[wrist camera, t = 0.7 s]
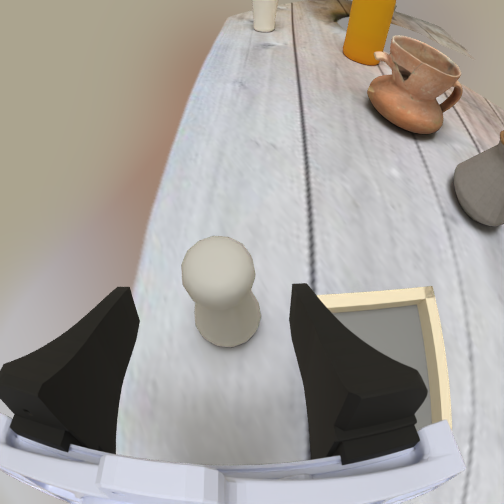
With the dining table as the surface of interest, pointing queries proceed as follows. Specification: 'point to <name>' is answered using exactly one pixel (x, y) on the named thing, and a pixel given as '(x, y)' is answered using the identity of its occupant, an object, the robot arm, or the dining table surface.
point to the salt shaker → (222, 290)
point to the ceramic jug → (415, 85)
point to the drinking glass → (264, 14)
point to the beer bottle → (368, 29)
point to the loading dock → (402, 338)
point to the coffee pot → (483, 185)
